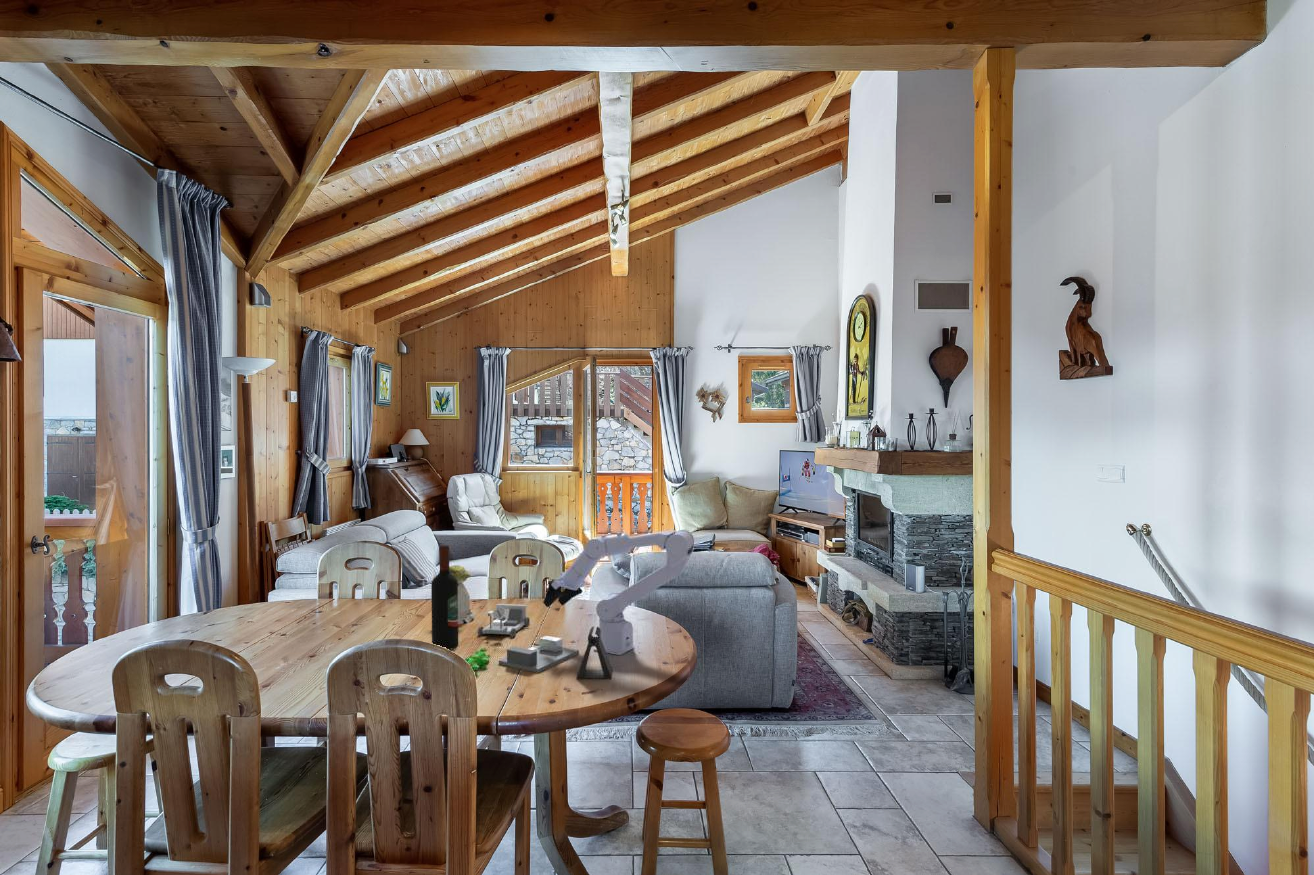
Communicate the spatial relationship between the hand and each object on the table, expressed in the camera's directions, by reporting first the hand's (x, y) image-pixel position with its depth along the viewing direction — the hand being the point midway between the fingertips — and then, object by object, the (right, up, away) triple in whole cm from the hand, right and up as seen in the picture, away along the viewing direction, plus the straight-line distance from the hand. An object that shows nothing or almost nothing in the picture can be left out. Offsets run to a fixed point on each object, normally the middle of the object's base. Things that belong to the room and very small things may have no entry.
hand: (553, 603), depth 209 cm
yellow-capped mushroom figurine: (-37, -12, +27) cm, 48 cm away
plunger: (-1, -11, -8) cm, 14 cm away
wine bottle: (-32, -13, -1) cm, 34 cm away
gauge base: (-2, -12, -13) cm, 18 cm away
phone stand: (+15, -13, -26) cm, 33 cm away
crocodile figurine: (-19, -13, -22) cm, 31 cm away
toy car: (-18, -13, +14) cm, 26 cm away
